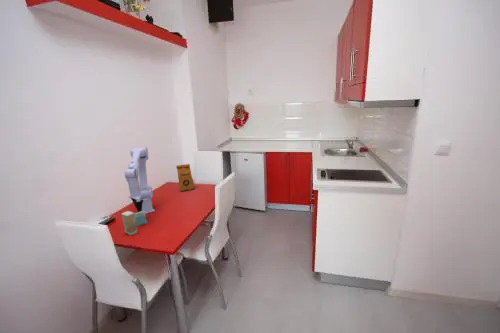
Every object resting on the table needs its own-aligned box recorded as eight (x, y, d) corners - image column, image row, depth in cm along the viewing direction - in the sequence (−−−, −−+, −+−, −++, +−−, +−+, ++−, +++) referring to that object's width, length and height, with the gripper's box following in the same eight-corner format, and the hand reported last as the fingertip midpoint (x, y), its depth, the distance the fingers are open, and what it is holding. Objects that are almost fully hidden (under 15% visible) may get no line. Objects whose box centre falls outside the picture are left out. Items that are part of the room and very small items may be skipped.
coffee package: (194, 190, 202) (191, 164, 197) (179, 192, 200) (175, 166, 194) (194, 186, 212) (191, 162, 206) (179, 188, 209) (176, 164, 204)
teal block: (136, 222, 151) (134, 214, 149) (144, 219, 153) (143, 212, 152) (137, 225, 146) (136, 217, 145) (146, 222, 149) (144, 215, 148)
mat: (134, 222, 151) (134, 222, 151) (145, 219, 155) (145, 218, 155) (136, 226, 145) (136, 226, 145) (148, 223, 149) (148, 222, 149)
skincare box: (124, 233, 139) (120, 213, 135) (131, 229, 142) (128, 210, 139) (131, 235, 135) (126, 215, 132) (138, 232, 138) (134, 212, 135)
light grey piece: (125, 222, 152) (123, 216, 151) (145, 216, 159) (144, 210, 158) (128, 230, 142) (127, 223, 141) (149, 223, 148) (148, 217, 147)
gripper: (125, 186, 148) (129, 207, 151) (129, 193, 136) (133, 215, 140) (137, 184, 152) (141, 204, 155) (142, 190, 140) (146, 211, 143)
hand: (138, 209), depth 148 cm, fingers open, 7 cm apart
